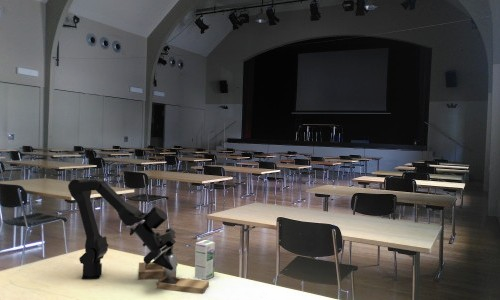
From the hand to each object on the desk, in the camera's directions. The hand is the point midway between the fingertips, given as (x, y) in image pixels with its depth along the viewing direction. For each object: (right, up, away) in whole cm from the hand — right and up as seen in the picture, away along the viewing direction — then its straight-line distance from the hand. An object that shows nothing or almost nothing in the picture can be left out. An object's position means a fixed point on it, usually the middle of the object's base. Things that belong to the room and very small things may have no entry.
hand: (174, 267), depth 160 cm
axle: (-2, -7, +1) cm, 7 cm away
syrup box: (+10, -7, +12) cm, 17 cm away
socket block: (-11, -6, +13) cm, 18 cm away
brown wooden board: (+3, -7, 0) cm, 8 cm away
